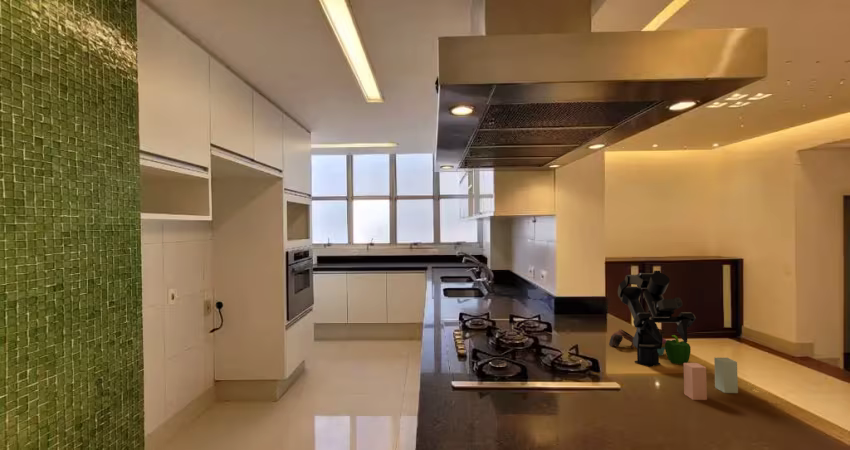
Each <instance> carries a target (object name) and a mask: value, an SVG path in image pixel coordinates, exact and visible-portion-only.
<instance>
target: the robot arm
mask: <svg viewBox="0 0 850 450" xmlns="http://www.w3.org/2000/svg"><path fill="white" fill-rule="evenodd" d="M670 281H671V280H670V278H669V277H668V276H667V275H666V274H665V273H663V272H661V270H653V272H651V273H650V272H648V273H647V272H645V273H644V272H639V273H637V274H627V275H625V277H624V280H622V281H621V282H620V283H619V284H618V287H617V296H618V298H619V300H620V301H621V303H623V304H625V305H626V306H627V308H628V310H629V312H630V314H631V316H632V318H633V325H634V328H635V329H636V331H635V333H634V336H633V337H634V338H633V345H634V347H635V348H636V355H637V356H636V357H637V359H636V360H634V363H635V364H640V365H643V366H646V367H648V368H649V367H655V366H659V365H661V362H660V360H659V359H660V358H659V357H660V355H659V353H658V349H661V347H662V341H663V338H664V337H663V334H662V332H661V331H660V328H659V327H658V325H657V323H658V324H660V323H661V324H665V323H671V324H672V323H673V324H674V323H675V324H676V331H677V333H678V334H679V336H680V338H681V339H682V341H684V342H685V343H688V329H689V328H690V327H691V326H692V325H693V324H694V322H695V321H696V320H697V318H696V315H695V314H694V313H693V312H691V311H690V312H689V311H688V312H686V311H684V312H683V311H681V312H680V313H679V314H678V315H677V316H673V315H674V314H675V310H679V309H680V308H682V307H683V301H682V299H681V297H674V298H664V296H663V295H664V294H665V293H666V290H667V288H668V286H669V285H670ZM629 285H636V286H629ZM643 289H644V290H643ZM641 295H643V296H641ZM641 297H642V299H643V300H645V302H646V305H647V306H648V309H647V312H645V310H644V308H643V306H642V304H641V301H640V299H641Z"/></svg>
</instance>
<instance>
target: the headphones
mask: <svg viewBox="0 0 850 450" xmlns="http://www.w3.org/2000/svg"><path fill="white" fill-rule="evenodd" d="M633 338H634V336H633V335H631V334H630V333H628V332H627V331H625V330H623V329H620V328H619V329H618V331H615V332H613V333H612V334H611V336H610V339H609V343H608V344H609V346H610V347H612V348H613V347H620V344H621V342H622V341H623V340H624V339H625V340H627V341H629V342H630V343H631V345H630V348H631V349H633V348H634V347H635V346H634V345H633Z"/></svg>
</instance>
